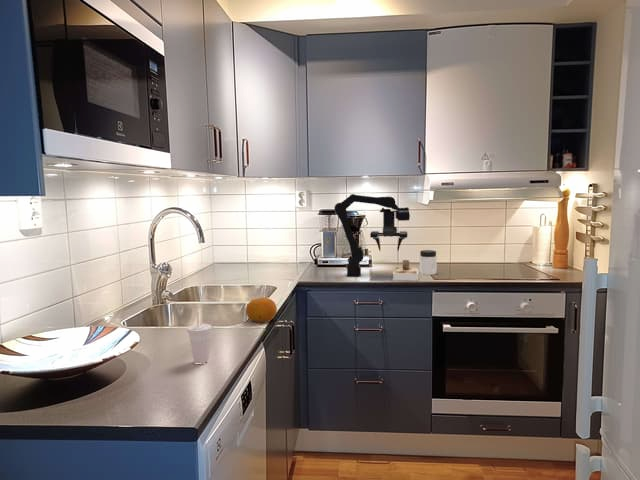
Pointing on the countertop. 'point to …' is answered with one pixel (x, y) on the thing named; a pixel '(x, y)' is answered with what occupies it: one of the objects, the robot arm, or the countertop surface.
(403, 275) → the dish
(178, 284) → the countertop surface
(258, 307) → the fruit
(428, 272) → the jar
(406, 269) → the lid
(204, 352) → the smoothie
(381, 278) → the mat
